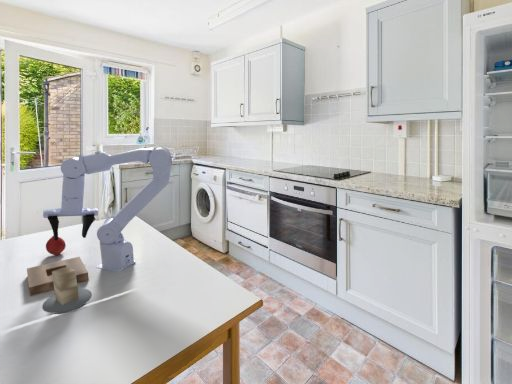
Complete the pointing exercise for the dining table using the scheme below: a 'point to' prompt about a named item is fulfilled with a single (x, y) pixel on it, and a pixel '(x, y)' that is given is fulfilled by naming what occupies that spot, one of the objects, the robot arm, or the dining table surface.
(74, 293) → the peg
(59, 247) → the red rounded piece
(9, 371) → the dining table surface
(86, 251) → the dining table surface
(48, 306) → the coaster
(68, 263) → the pocket block
